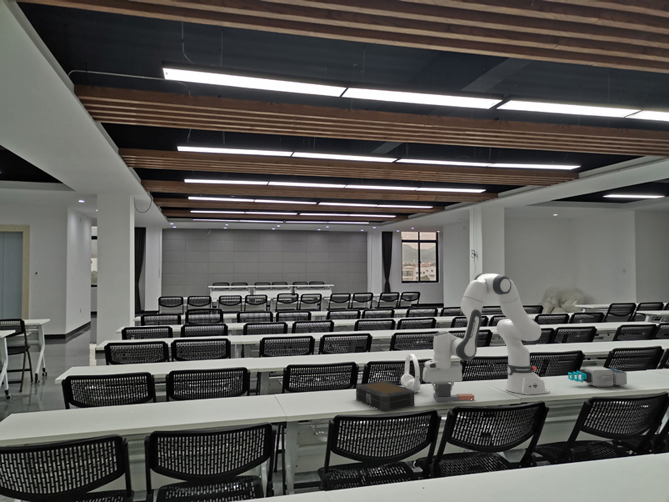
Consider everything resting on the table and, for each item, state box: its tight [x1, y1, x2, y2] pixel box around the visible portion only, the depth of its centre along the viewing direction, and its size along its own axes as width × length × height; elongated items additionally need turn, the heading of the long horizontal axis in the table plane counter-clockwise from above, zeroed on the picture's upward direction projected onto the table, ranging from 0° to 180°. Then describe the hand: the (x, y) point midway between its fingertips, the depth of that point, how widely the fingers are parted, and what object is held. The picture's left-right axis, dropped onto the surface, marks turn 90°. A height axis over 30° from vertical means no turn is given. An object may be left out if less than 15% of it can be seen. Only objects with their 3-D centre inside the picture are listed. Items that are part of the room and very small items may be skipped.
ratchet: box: [432, 392, 475, 403], centre depth 238 cm, size 20×8×8 cm, turn 94°
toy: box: [567, 366, 628, 388], centre depth 265 cm, size 16×10×30 cm
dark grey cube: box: [434, 382, 452, 397], centre depth 238 cm, size 6×6×6 cm
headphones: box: [400, 353, 421, 394], centre depth 258 cm, size 20×8×20 cm, turn 9°
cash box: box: [355, 380, 416, 413], centre depth 233 cm, size 25×20×8 cm
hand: (442, 390), depth 238 cm, fingers closed on dark grey cube, 6 cm apart
